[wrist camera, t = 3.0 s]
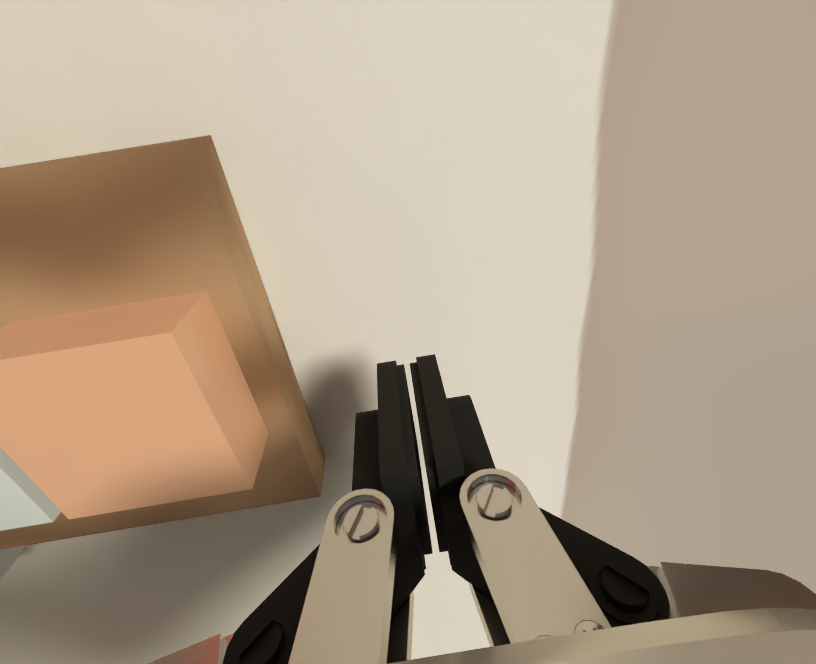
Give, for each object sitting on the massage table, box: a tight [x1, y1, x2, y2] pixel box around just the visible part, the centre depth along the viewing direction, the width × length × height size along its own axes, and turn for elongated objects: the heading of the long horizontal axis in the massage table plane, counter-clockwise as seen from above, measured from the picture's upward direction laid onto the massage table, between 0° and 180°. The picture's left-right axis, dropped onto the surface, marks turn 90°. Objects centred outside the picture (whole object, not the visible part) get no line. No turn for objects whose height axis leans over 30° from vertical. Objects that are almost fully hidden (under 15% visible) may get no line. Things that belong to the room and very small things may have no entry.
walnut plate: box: [0, 135, 325, 550], centre depth 14 cm, size 14×14×2 cm
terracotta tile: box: [0, 291, 269, 519], centre depth 12 cm, size 6×6×2 cm
